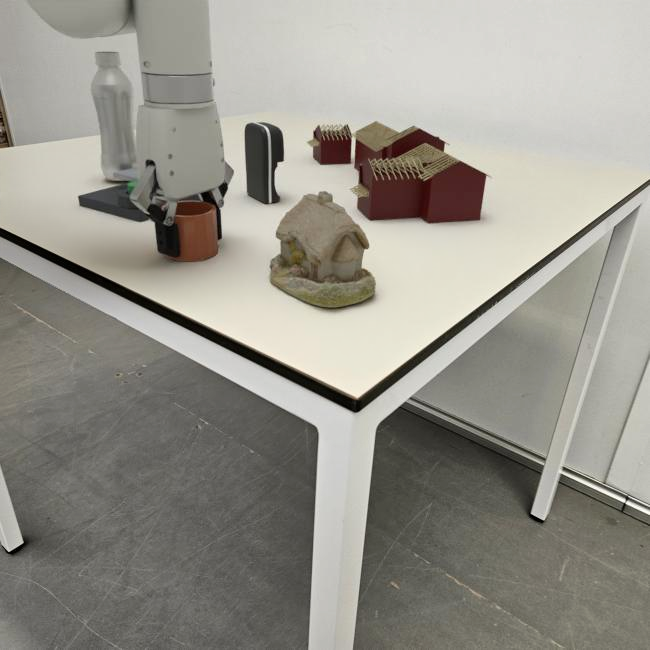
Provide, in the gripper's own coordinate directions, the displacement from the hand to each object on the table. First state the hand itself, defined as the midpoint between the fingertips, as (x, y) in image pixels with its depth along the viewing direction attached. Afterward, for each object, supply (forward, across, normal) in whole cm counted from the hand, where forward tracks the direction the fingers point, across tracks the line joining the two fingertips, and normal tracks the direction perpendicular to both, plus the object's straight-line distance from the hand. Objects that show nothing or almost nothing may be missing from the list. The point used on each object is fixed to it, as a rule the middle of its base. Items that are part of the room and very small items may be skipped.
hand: (190, 244), depth 74 cm
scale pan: (-2, -15, -20) cm, 25 cm away
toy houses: (+1, -44, +3) cm, 44 cm away
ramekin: (+1, 0, 0) cm, 1 cm away
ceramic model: (+1, -2, +18) cm, 18 cm away
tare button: (-2, -7, -16) cm, 18 cm away
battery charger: (+1, -24, -7) cm, 25 cm away
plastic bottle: (+1, -18, -33) cm, 38 cm away
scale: (+1, -12, -20) cm, 23 cm away
